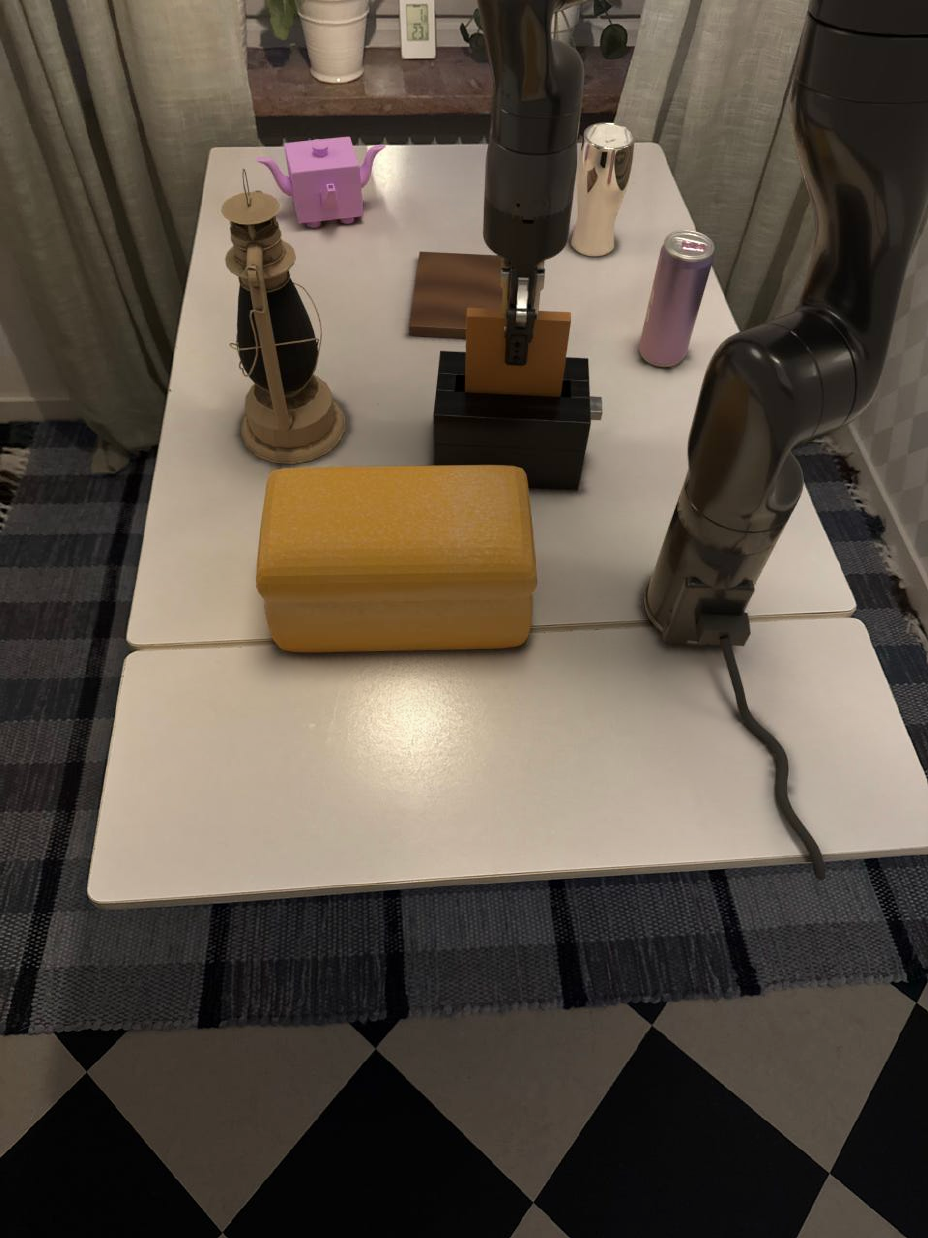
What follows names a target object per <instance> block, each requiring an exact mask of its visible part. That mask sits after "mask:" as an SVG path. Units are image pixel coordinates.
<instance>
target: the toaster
mask: <svg viewBox="0 0 928 1238" xmlns="http://www.w3.org/2000/svg"><path fill="white" fill-rule="evenodd" d="M465 364H466V351H456V350H455V351H454V350H452V351H451V350H440V351H439V358H438V365H437V367H438V369H437V376H436V386H435V394H434V395H435V396H434V404H433V413H432V416H433V417H432V421H433V422H432V423H433V425H432V426H433V429H432V430H433V466H451V465H504V466H515V467H519V468H522V469H523V470H524V472H525V473H526V476H527V482H528V489H543V490H544V489H545V490H564V491H579V488H580V483H581V478H582V473H583V469H584V463H585V457H586V452H587V448H588V447H587V446H588V441H589V437H590V431H591V425H592V421H602V417H603V412H604V411H603V397H602V396H593V395H591V389H590V364H589V358H588V357H569V356H566V361H565V368H564V376H563V383H562V390H561V397H552V396H532V395H513V394H494V393H474V392H465Z"/></svg>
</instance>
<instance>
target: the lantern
mask: <svg viewBox="0 0 928 1238" xmlns="http://www.w3.org/2000/svg"><path fill="white" fill-rule="evenodd" d="M241 173H242V185H243V190H244V192H241V193H238V194H235V195H232V196H231V197H229V198H227V199H226V200H225V201H224V202H223V204H222V205H221V209H220V211H221V214H222V216H223V218H225V219H226V220H228V221H229V224H230V225H229V226H230V227H229V231H230V242H231V243H232V247H231V248H230V249H229V250H227V252H226V255H225V257H224V262H225V266H226V268H227V269H228V271H229V272H230V274H233V275H235V276H236V277H237V278H238V283H239V286H238V295H237V313H236V315H237V317H236V335H235V337H236V339H235V343H234V342H230V343H229V347H230V348H231V349H233V350H236V351H237V354H238V358H239V362H238V369H239V370H241V372H242V376H243V377H245V378H247V377H248V378H249V379H250V380H251V381H252V382H253V384H252V385H251V386H250V388H249V389H248V392H247V393H246V395H245V397H244V398H245V399H244V401H245V402H244V410H245V414H246V415H245V416H244V418H243V419H242V423H241V433H240V434H241V437H242V439H243V441H244V444H245V446H246V448H247V449H249V451H251V453H253V454H254V455H255V456H256V457H258V458H259V459H263V460H266V461H268V462H270V463H273V464H282V465H283V464H286V465H297V464H302V463H308V462H313V461H314V460H316V459H319V458H321V457H323V456H325V455H328V454H329V453H330V452H331V451H332V450H333V449H334V448H336V446H337V445H339V444H340V442H341V440H342V438H343V436H344V434H345V432H346V416H345V414H344V412H343V411H342V409H341V407H340V405H339V404H338V403H336V401H334V399H333V392H332V390H331V389H330V387H329V385H328V384H327V382H325V380H323V379H322V378H320V377H319V376H318V375H316V374H315V372H316V371H317V366H318V361H319V356H320V351H321V347H322V346H321V345H322V338H323V327H322V321H321V318H320V313H319V311H318V308H317V306H316V303H315V302H314V300H313V298H312V296H311V294H310V293H309V292H308V290H307V289H306V288H305V287H304V286H303V285H301V284H299V283H297V282H294V281H293V280H292V278H291V274H290V270H291V268H292V267H293V266H294V265H295V262H296V259H297V256H296V252H295V249H294V248H293V246H292V244H290V243H288V242H287V241H285V240H283V239H282V236H283V234H282V230H281V229H280V224H279V222H278V219H277V215H278V213H279V211H280V207H281V205H280V204H281V203H280V202H279V200H278V199H277V198H276V197H274V196H273V195H271V194H269V193H266V192H263V191H262V190H260V189H256V190H253V191H250V187H249V182H248V176H247V171H246V169H245V168H242V171H241ZM245 182H246V184H245ZM245 185H246V186H245ZM246 188H247V190H246ZM296 286H298V287H300V288H301V289H303V290H304V292H305V293H306V295H307V296H308V297H309V299H310V300H311V302H312V304H313V307H314V309H315V312H316V315H317V318H318V322H319V328H320V336H319V337H320V338H318V337H316V333H315V329H314V327H313V324H312V321H311V318H310V315H309V314H308V311H307V309H306V307H305V304H304V302H303V300H302V298H301V295H300V293H299V291H298V289H297V287H296ZM232 345H233V346H232ZM234 346H236V347H234ZM241 365H242V366H241Z"/></svg>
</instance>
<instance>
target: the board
mask: <svg viewBox="0 0 928 1238" xmlns="http://www.w3.org/2000/svg"><path fill="white" fill-rule="evenodd" d="M501 265H502V257H500V256H498V255H497V254H479V253H478V254H477V253H461V252H460V253H459V252H456V253H455V252H439V251H438V252H437V251H419V252H418V259H417V267H416V273H415V280H414V288H413V295H412V300H411V301H412V302H411V309H410V317H409V323H408V331H409V332H408V333H409V336H413V337H429V338H430V337H432V338H450V339H451V338H454V339H466V317H467V308H488V309H502V297H503V289H502V288H501Z"/></svg>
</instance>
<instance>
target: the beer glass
mask: <svg viewBox="0 0 928 1238" xmlns="http://www.w3.org/2000/svg"><path fill="white" fill-rule="evenodd" d="M635 143H636V134H635V133H634V131H633V130H632V129H630V128H629V127H628V126H625V125H623V124H620V123H615V122H598V123H594V124H591V125H589V126H588V127H587V128H585V129H584V132H583V138H582V141H581V147H580V151H579V156H578V161H577V172H576V200H577V203H576V204H577V217H576V224H575V227H574V230H573V233H572V235H571V240H570V244H571V247H572V248H573V250H574V251H576V252H577V253H579V254H581V255H583V256H587V257H603V256H605V255H608V254H610V253H611V252H612V251H613V249H614V247H615V226H616V220H617V218H618V214H619V211H620V209H621V205H622V203H623V201H624V198H625V195H626V192H627V189H628V186H629V183H630V178H631V173H632V169H633V161H634V153H635V152H634V151H635Z"/></svg>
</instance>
